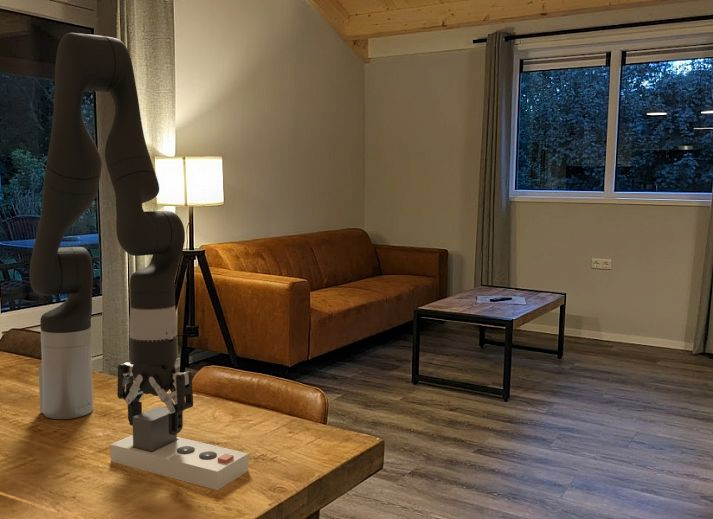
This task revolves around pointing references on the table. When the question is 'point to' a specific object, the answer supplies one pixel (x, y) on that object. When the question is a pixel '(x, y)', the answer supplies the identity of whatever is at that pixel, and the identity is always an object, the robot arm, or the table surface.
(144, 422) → the charcoal plug
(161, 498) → the table surface
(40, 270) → the robot arm
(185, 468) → the power strip
